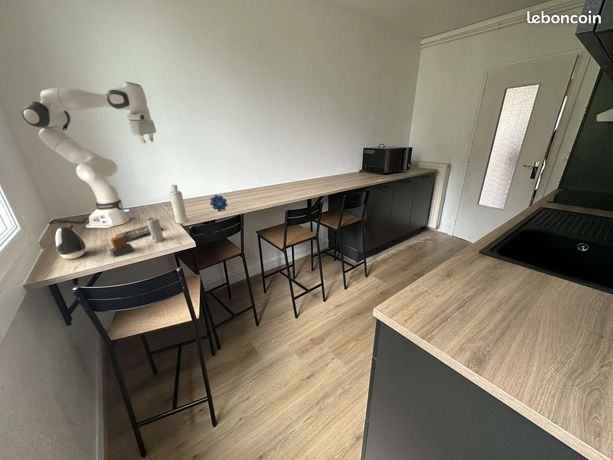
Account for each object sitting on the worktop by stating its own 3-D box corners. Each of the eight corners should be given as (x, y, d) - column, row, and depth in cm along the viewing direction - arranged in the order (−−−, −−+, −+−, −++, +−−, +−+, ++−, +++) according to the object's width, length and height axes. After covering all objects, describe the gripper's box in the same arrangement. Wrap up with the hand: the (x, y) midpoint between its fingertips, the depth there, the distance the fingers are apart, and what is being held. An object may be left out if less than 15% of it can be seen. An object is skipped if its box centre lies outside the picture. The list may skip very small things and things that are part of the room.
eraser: (114, 257, 118) (108, 241, 115) (111, 254, 121) (105, 239, 117) (133, 250, 124) (128, 235, 121) (130, 248, 126) (125, 233, 123)
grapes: (213, 214, 171) (210, 197, 167) (210, 211, 177) (207, 195, 172) (230, 211, 177) (227, 194, 172) (227, 208, 182) (224, 192, 177)
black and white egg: (94, 250, 125) (82, 222, 119) (77, 261, 115) (64, 231, 109) (73, 251, 125) (61, 222, 119) (55, 262, 115) (40, 231, 109)
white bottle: (175, 223, 156) (165, 184, 146) (177, 220, 162) (168, 181, 152) (186, 223, 157) (177, 183, 147) (188, 219, 163) (180, 181, 153)
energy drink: (161, 237, 138) (155, 216, 133) (165, 239, 135) (160, 219, 130) (151, 240, 134) (144, 219, 130) (155, 243, 131) (149, 222, 127)
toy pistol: (124, 242, 133) (123, 240, 132) (116, 237, 139) (115, 234, 139) (163, 230, 147) (162, 228, 146) (153, 226, 154) (153, 223, 153)
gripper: (144, 116, 148) (150, 140, 154) (125, 116, 129) (132, 144, 135) (155, 116, 148) (161, 140, 154) (137, 116, 130) (145, 144, 136)
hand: (147, 142), depth 144 cm, fingers open, 8 cm apart
